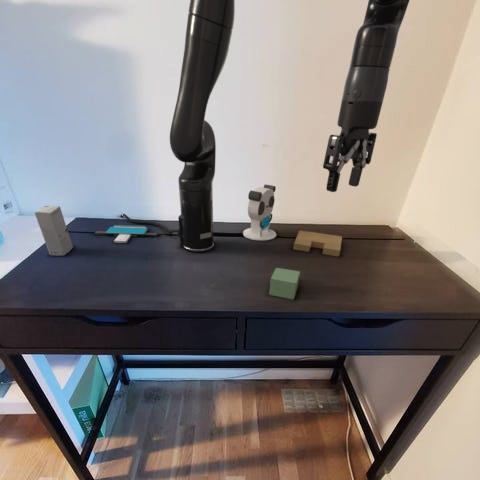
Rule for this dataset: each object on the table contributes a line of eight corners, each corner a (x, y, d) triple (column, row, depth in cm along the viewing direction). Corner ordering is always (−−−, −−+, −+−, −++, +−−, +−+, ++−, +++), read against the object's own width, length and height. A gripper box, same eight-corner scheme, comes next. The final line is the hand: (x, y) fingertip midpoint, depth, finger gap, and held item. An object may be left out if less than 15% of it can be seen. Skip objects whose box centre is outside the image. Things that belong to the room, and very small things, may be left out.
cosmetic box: (65, 256, 88) (51, 212, 80) (48, 255, 87) (33, 212, 80) (73, 247, 93) (61, 205, 85) (58, 247, 92) (44, 205, 85)
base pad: (293, 249, 97) (293, 243, 96) (298, 236, 106) (299, 230, 105) (338, 256, 94) (340, 250, 93) (340, 242, 103) (342, 236, 102)
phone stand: (87, 242, 96) (86, 236, 95) (101, 228, 105) (100, 223, 104) (152, 244, 96) (152, 239, 95) (160, 230, 106) (160, 225, 105)
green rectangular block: (269, 294, 75) (270, 278, 72) (277, 277, 82) (279, 261, 80) (293, 299, 74) (296, 283, 71) (299, 281, 81) (302, 265, 78)
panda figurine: (265, 244, 100) (270, 195, 91) (235, 236, 104) (237, 188, 95) (281, 233, 108) (287, 187, 99) (253, 225, 113) (256, 181, 104)
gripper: (364, 98, 65) (345, 181, 75) (323, 96, 57) (308, 189, 67) (399, 100, 61) (374, 187, 70) (359, 98, 53) (338, 197, 63)
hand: (342, 188), depth 69 cm, fingers open, 8 cm apart
